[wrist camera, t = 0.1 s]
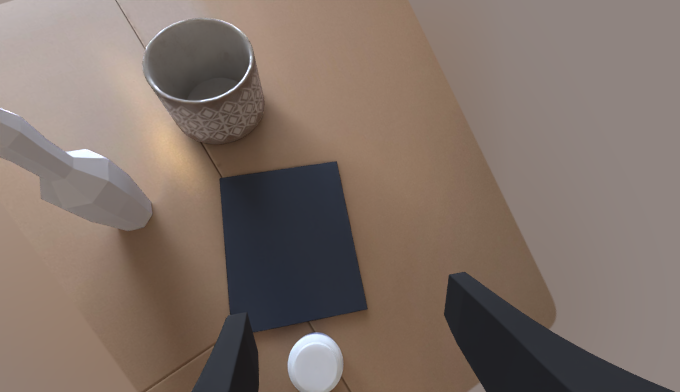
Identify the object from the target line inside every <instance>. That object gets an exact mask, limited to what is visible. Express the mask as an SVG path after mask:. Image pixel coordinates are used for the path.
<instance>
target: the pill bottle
mask: <svg viewBox="0 0 680 392" xmlns="http://www.w3.org/2000/svg"><path fill="white" fill-rule="evenodd" d="M342 372H343V356H342V353H341V350H340V348H339V347H338V345H337V344H336V343H335V342H334V340H333V339H332V338H330V337H329V336H328V335H326V334H323V333H318V332H314V333H309V334H307V335H305V336H304V337H302V338H301V339H300V340H299V341H298V342H297V343H296V344H295V345H294V347H293V348H292V350H291V352H290V354H289V359H288V373H289V377H290V379H291V381H292V383H293V385H294V386H295V387H296V388H297V389H298V390H299V391H300V392H329V391H331V390H332V389H333V388H334V387H335V386H336V385H337V383H338V382H339V380H340V378H341V375H342Z"/></svg>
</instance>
